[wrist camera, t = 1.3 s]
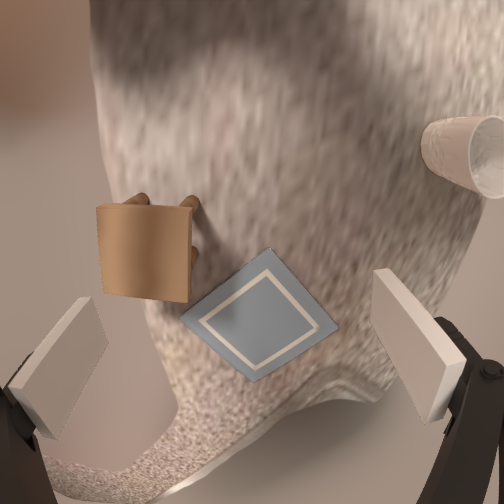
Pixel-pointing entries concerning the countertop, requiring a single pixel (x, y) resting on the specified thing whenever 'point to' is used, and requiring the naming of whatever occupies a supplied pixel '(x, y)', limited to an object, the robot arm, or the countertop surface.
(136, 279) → the stool
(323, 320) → the mat
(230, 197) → the countertop surface
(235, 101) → the countertop surface
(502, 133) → the white cup
